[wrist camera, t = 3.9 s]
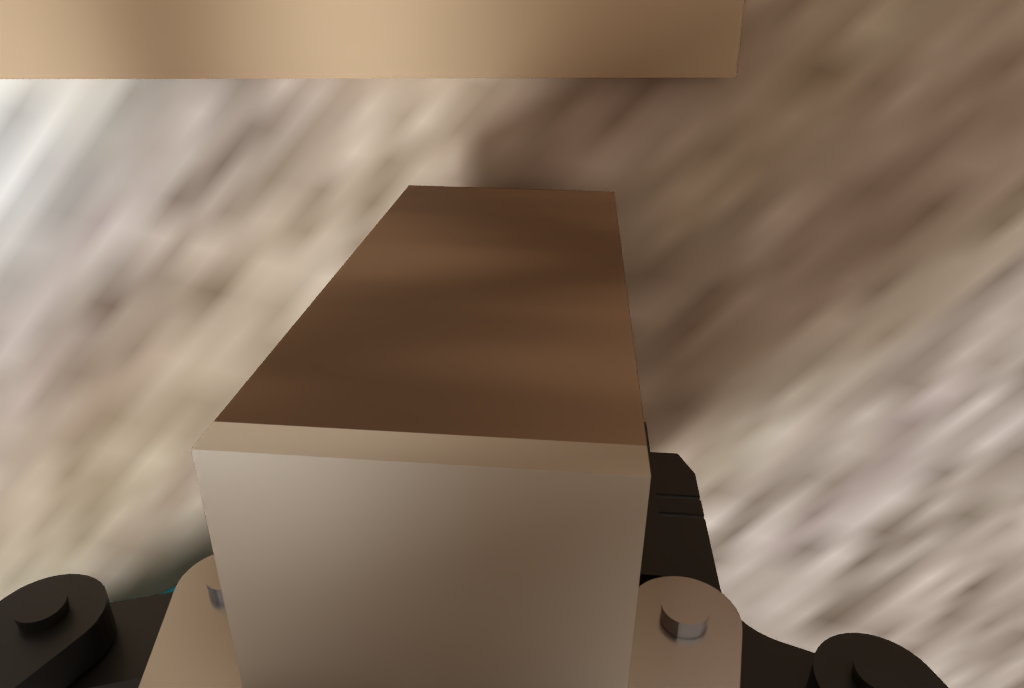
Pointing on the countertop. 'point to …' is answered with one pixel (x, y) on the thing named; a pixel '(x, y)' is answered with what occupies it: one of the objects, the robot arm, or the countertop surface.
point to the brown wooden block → (442, 459)
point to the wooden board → (369, 39)
